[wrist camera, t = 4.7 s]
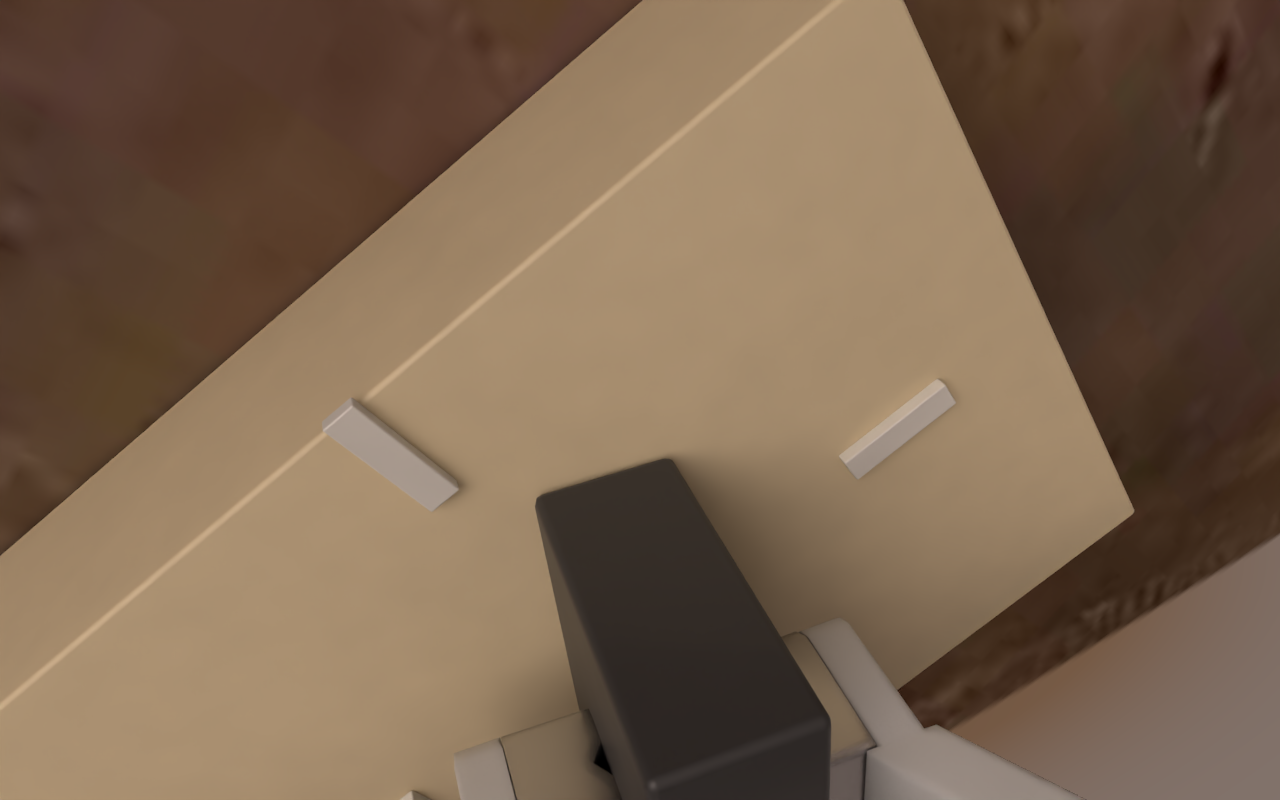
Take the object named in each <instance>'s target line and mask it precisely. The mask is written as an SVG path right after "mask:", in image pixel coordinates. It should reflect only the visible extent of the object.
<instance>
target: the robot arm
mask: <svg viewBox="0 0 1280 800" xmlns="http://www.w3.org/2000/svg"><path fill="white" fill-rule="evenodd" d="M781 638H782V639H783V641H784V643H785V644H786V646H787V648H788V649H789V651H790V652H791V654H792V656H793V657H794V659H795V661H796V662H797V664H798V665H799V667H800V669H801V670H802V672H803V674H804V675H805V677H806V679H807V680H808V682H809V683H810V685H811V687H812V688H813V690H814V692H815V693H816V695H817V696H818V698H819V700H820V701H821V703H822V705H823V706H824V708H825V710H826V711H827V713H828V714H829V716H830V718H831V760H830V795H829V800H1086V799H1084V798H1082V797H1080V796H1078V795H1076V794H1074V793H1072V792H1070V791H1068V790H1066V789H1064V788H1062V787H1060V786H1058V785H1056V784H1054V783H1052V782H1050V781H1048V780H1046V779H1044V778H1042V777H1040V776H1038V775H1036V774H1034V773H1032V772H1030V771H1028V770H1026V769H1024V768H1022V767H1020V766H1018V765H1016V764H1014V763H1012V762H1010V761H1008V760H1006V759H1004V758H1002V757H1000V756H998V755H996V754H994V753H992V752H990V751H988V750H986V749H984V748H982V747H980V746H978V745H976V744H974V743H972V742H970V741H968V740H966V739H964V738H962V737H960V736H958V735H956V734H954V733H952V732H950V731H948V730H946V729H944V728H942V727H940V726H938V725H933V726H930V727H927V728H924V727H923V726H922V725H921V723H920V722H919V720H918V719H917V718H916V716H915V715H914V713H913V712H912V711H911V709H910V708H909V707H908V705H907V704H906V702H905V701H904V700H903V698H902V697H901V695H900V694H899V693H898V691H897V690H896V688H895V687H894V686H893V684H892V683H891V681H890V680H889V679H888V677H887V676H886V674H885V673H884V672H883V670H882V669H881V667H880V666H879V665H878V663H877V662H876V660H875V659H874V658H873V656H872V655H871V653H870V652H869V651H868V649H867V648H866V646H865V645H864V644H863V642H862V641H861V639H860V638H859V637H858V635H857V634H856V632H855V631H854V630H853V628H852V627H851V625H850V624H849V623H848V622H846V621H845V620H843V619H842V618H840V617H839V618H834V619H831V620H829V621H826V622H823V623H821V624H818V625H815V626H813V627H810V628H807V629H805V630H802V631H800V632H796V631H795V632H792V633H790V634H787V635H784V636H782V637H781ZM501 739H502V741H501ZM501 739H500V737H499V738H496V739H493V740H490V741H488V742H485V743H482V744H479V745H476V746H473V747H471V748H468V749H465V750H462V751H459V752H456V753H454V770H455V775H456V780H457V784H458V789H459V794H460V799H461V800H622V797H621V794H620V792H619V789H618V786H617V783H616V781H615V778H614V776H613V775H611V774H610V773H608V771H607V767H606V762H605V757H604V752H603V747H602V742H601V739H600V736H599V733H598V731H597V728H596V725H595V722H594V720H593V717H592V715H591V713H590V710H589V709H584V710H581V711H578V712H575V713H572V714H569V715H566V716H563V717H560V718H557V719H554V720H551V721H548V722H545V723H542V724H539V725H536V726H533V727H530V728H527V729H524V730H521V731H518V732H515V733H512V734H509V735H506V736H503V737H501ZM502 743H503V744H502Z"/></svg>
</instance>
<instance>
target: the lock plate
mask: <svg viewBox="0 0 1280 800" xmlns="http://www.w3.org/2000/svg"><path fill="white" fill-rule="evenodd" d="M664 458H666V459H671V460H672V461H673V462H674V463H675V465H676V466H677V468H678V470H679V471H680V473H681V475H682V476H683V478H684V479H685V481H686V483H687V484H688V486H689V488H690V489H691V491H692V493H693V494H694V496H695V497H696V499H697V501H698V502H699V504H700V506H701V507H702V509H703V510H704V512H705V514H706V515H707V517H708V519H709V520H710V522H711V524H712V525H713V527H714V528H715V530H716V532H717V533H718V535H719V537H720V538H721V540H722V541H723V543H724V545H725V546H726V548H727V550H728V551H729V553H730V555H731V556H732V558H733V559H734V561H735V563H736V564H737V566H738V568H739V569H740V571H741V572H742V574H743V576H744V577H745V579H746V581H747V582H748V584H749V586H750V587H751V589H752V590H753V592H754V594H755V595H756V597H757V599H758V600H759V602H760V603H761V605H762V607H763V608H764V610H765V612H766V613H767V615H768V617H769V618H770V620H771V621H772V623H773V625H774V626H775V628H776V630H777V631H778V633H779V634H780V636H781V637H782V636H784V635H787V634H790V633H792V632H795V631H796V632H800V631H802V630H805V629H807V628H810V627H813V626H815V625H818V624H821V623H823V622H826V621H829V620H831V619H834V618H839V617H840V618H842V619H843V620H845V621H846V622H848V623H849V624H850V625H851V627H852V628H853V630H854V631H855V632H856V634H857V635H858V637H859V638H860V639H861V641H862V642H863V644H864V645H865V646H866V648H867V649H868V651H869V652H870V653H871V655H872V656H873V658H874V659H875V660H876V662H877V663H878V665H879V666H880V667H881V669H882V670H883V672H884V673H885V674H886V676H887V677H888V679H889V680H890V681H891V683H892V684H893V686H894V687H895V688H896V690H898V689H899V688H901V687H902V686H903V685H905V684H906V683H907V682H909V681H910V680H911V679H913V678H914V677H915V676H917V675H918V674H919V673H921V672H922V671H923V670H925V669H926V668H927V667H929V666H930V665H931V664H933V663H934V662H935V661H937V660H938V659H939V658H941V657H942V656H943V655H945V654H946V653H947V652H949V651H950V650H951V649H953V648H954V647H956V646H957V645H958V644H960V643H961V642H962V641H964V640H965V639H966V638H968V637H969V636H970V635H972V634H973V633H974V632H976V631H977V630H978V629H980V628H981V627H982V626H984V625H985V624H986V623H988V622H989V621H990V620H992V619H993V618H994V617H996V616H997V615H998V614H1000V613H1001V612H1002V611H1004V610H1005V609H1006V608H1008V607H1009V606H1010V605H1012V604H1013V603H1014V602H1016V601H1017V600H1018V599H1020V598H1021V597H1022V596H1024V595H1025V594H1026V593H1028V592H1029V591H1030V590H1032V589H1033V588H1034V587H1036V586H1037V585H1039V584H1040V583H1041V582H1043V581H1044V580H1045V579H1047V578H1048V577H1049V576H1051V575H1052V574H1053V573H1055V572H1056V571H1057V570H1059V569H1060V568H1061V567H1063V566H1064V565H1065V564H1067V563H1068V562H1069V561H1071V560H1072V559H1073V558H1075V557H1076V556H1077V555H1079V554H1080V553H1081V552H1083V551H1084V550H1085V549H1087V548H1088V547H1089V546H1091V545H1092V544H1093V543H1095V542H1096V541H1097V540H1099V539H1100V538H1101V537H1103V536H1104V535H1105V534H1107V533H1108V532H1109V531H1111V530H1112V529H1113V528H1115V527H1116V526H1117V525H1119V524H1120V523H1121V522H1123V521H1124V520H1126V519H1127V518H1128V517H1130V516H1131V515H1132V514H1133V513H1134V509H1133V506H1132V504H1131V502H1130V500H1129V497H1128V495H1127V493H1126V491H1125V489H1124V486H1123V484H1122V482H1121V480H1120V478H1119V475H1118V473H1117V471H1116V469H1115V467H1114V464H1113V462H1112V460H1111V458H1110V456H1109V453H1108V451H1107V449H1106V447H1105V445H1104V442H1103V440H1102V438H1101V436H1100V433H1099V431H1098V429H1097V427H1096V425H1095V422H1094V420H1093V418H1092V416H1091V414H1090V411H1089V409H1088V407H1087V405H1086V403H1085V400H1084V398H1083V396H1082V394H1081V392H1080V389H1079V387H1078V385H1077V383H1076V380H1075V378H1074V376H1073V374H1072V372H1071V369H1070V367H1069V365H1068V363H1067V361H1066V358H1065V356H1064V354H1063V352H1062V350H1061V347H1060V345H1059V343H1058V341H1057V339H1056V336H1055V334H1054V332H1053V330H1052V327H1051V325H1050V323H1049V321H1048V319H1047V316H1046V314H1045V312H1044V310H1043V308H1042V305H1041V303H1040V301H1039V299H1038V297H1037V294H1036V292H1035V290H1034V288H1033V286H1032V283H1031V281H1030V279H1029V277H1028V274H1027V272H1026V270H1025V268H1024V266H1023V263H1022V261H1021V259H1020V257H1019V255H1018V252H1017V250H1016V248H1015V246H1014V244H1013V241H1012V239H1011V237H1010V235H1009V233H1008V230H1007V228H1006V226H1005V224H1004V222H1003V219H1002V217H1001V215H1000V213H999V210H998V208H997V206H996V204H995V202H994V199H993V197H992V195H991V193H990V191H989V188H988V186H987V184H986V182H985V180H984V177H983V175H982V173H981V171H980V169H979V166H978V164H977V162H976V160H975V157H974V155H973V153H972V151H971V149H970V146H969V144H968V142H967V140H966V138H965V135H964V133H963V131H962V129H961V127H960V124H959V122H958V120H957V118H956V116H955V113H954V111H953V109H952V107H951V104H950V102H949V100H948V98H947V96H946V93H945V91H944V89H943V87H942V85H941V82H940V80H939V78H938V76H937V74H936V71H935V69H934V67H933V65H932V63H931V60H930V58H929V56H928V54H927V51H926V49H925V47H924V45H923V43H922V40H921V38H920V36H919V34H918V32H917V29H916V27H915V25H914V23H913V21H912V18H911V16H910V14H909V12H908V10H907V7H906V5H905V3H904V1H903V0H643V1H641V2H640V3H639V4H638V5H637V6H636V7H634V8H633V9H632V10H631V11H630V12H629V13H628V14H626V15H625V16H624V17H623V18H622V19H621V20H619V21H618V22H617V23H616V24H615V25H614V26H613V27H611V28H610V29H609V30H608V31H607V32H606V33H604V34H603V35H602V36H601V37H600V38H599V39H597V40H596V41H595V42H594V43H593V44H592V45H591V46H589V47H588V48H587V49H586V50H585V51H584V52H582V53H581V54H580V55H579V56H578V57H577V58H576V59H574V60H573V61H572V62H571V63H570V64H569V65H567V66H566V67H565V68H564V69H563V70H562V71H560V72H559V73H558V74H557V75H556V76H555V77H554V78H552V79H551V80H550V81H549V82H548V83H547V84H545V85H544V86H543V87H542V88H541V89H540V90H539V91H537V92H536V93H535V94H534V95H533V96H532V97H530V98H529V99H528V100H527V101H526V102H525V103H523V104H522V105H521V106H520V107H519V108H518V109H517V110H515V111H514V112H513V113H512V114H511V115H510V116H508V117H507V118H506V119H505V120H504V121H503V122H502V123H500V124H499V125H498V126H497V127H496V128H495V129H493V130H492V131H491V132H490V133H489V134H488V135H486V136H485V137H484V138H483V139H482V140H481V141H480V142H478V143H477V144H476V145H475V146H474V147H473V148H471V149H470V150H469V151H468V152H467V153H466V154H465V155H463V156H462V157H461V158H460V159H459V160H458V161H456V162H455V163H454V164H453V165H452V166H451V167H449V168H448V169H447V170H446V171H445V172H444V173H443V174H441V175H440V176H439V177H438V178H437V179H436V180H434V181H433V182H432V183H431V184H430V185H429V186H428V187H426V188H425V189H424V190H423V191H422V192H421V193H419V194H418V195H417V196H416V197H415V198H414V199H412V200H411V201H410V202H409V203H408V204H407V205H406V206H404V207H403V208H402V209H401V210H400V211H399V212H397V213H396V214H395V215H394V216H393V217H392V218H391V219H389V220H388V221H387V222H386V223H385V224H384V225H382V226H381V227H380V228H379V229H378V230H377V231H375V232H374V233H373V234H372V235H371V236H370V237H369V238H367V239H366V240H365V241H364V242H363V243H362V244H360V245H359V246H358V247H357V248H356V249H355V250H354V251H352V252H351V253H350V254H349V255H348V256H347V257H345V258H344V259H343V260H342V261H341V262H340V263H338V264H337V265H336V266H335V267H334V268H333V269H332V270H330V271H329V272H328V273H327V274H326V275H325V276H323V277H322V278H321V279H320V280H319V281H318V282H317V283H315V284H314V285H313V286H312V287H311V288H310V289H308V290H307V291H306V292H305V293H304V294H303V295H301V296H300V297H299V298H298V299H297V300H296V301H295V302H293V303H292V304H291V305H290V306H289V307H288V308H286V309H285V310H284V311H283V312H282V313H281V314H280V315H278V316H277V317H276V318H275V319H274V320H273V321H271V322H270V323H269V324H268V325H267V326H266V327H264V328H263V329H262V330H261V331H260V332H259V333H258V334H256V335H255V336H254V337H253V338H252V339H251V340H249V341H248V342H247V343H246V344H245V345H244V346H243V347H241V348H240V349H239V350H238V351H237V352H236V353H234V354H233V355H232V356H231V357H230V358H229V359H227V360H226V361H225V362H224V363H223V364H222V365H221V366H219V367H218V368H217V369H216V370H215V371H214V372H212V373H211V374H210V375H209V376H208V377H207V378H206V379H204V380H203V381H202V382H201V383H200V384H199V385H197V386H196V387H195V388H194V389H193V390H192V391H190V392H189V393H188V394H187V395H186V396H185V397H184V398H182V399H181V400H180V401H179V402H178V403H177V404H175V405H174V406H173V407H172V408H171V409H170V410H169V411H167V412H166V413H165V414H164V415H163V416H162V417H160V418H159V419H158V420H157V421H156V422H155V423H153V424H152V425H151V426H150V427H149V428H148V429H147V430H145V431H144V432H143V433H142V434H141V435H140V436H138V437H137V438H136V439H135V440H134V441H133V442H132V443H130V444H129V445H128V446H127V447H126V448H125V449H123V450H122V451H121V452H120V453H119V454H118V455H116V456H115V457H114V458H113V459H112V460H111V461H110V462H108V463H107V464H106V465H105V466H104V467H103V468H101V469H100V470H99V471H98V472H97V473H96V474H95V475H93V476H92V477H91V478H90V479H89V480H88V481H86V482H85V483H84V484H83V485H82V486H81V487H79V488H78V489H77V490H76V491H75V492H74V493H73V494H71V495H70V496H69V497H68V498H67V499H66V500H64V501H63V502H62V503H61V504H60V505H59V506H58V507H56V508H55V509H54V510H53V511H52V512H51V513H49V514H48V515H47V516H46V517H45V518H44V519H42V520H41V521H40V522H39V523H38V524H37V525H36V526H34V527H33V528H32V529H31V530H30V531H29V532H27V533H26V534H25V535H24V536H23V537H22V538H21V539H19V540H18V541H17V542H16V543H15V544H14V545H12V546H11V547H10V548H9V549H8V550H7V551H5V552H4V553H3V554H2V555H1V556H0V800H461V799H460V794H459V789H458V784H457V780H456V775H455V770H454V753H456V752H459V751H462V750H465V749H468V748H471V747H473V746H476V745H479V744H482V743H485V742H488V741H490V740H493V739H496V738H499V737H500V739H501V737H503V736H506V735H509V734H512V733H515V732H518V731H521V730H524V729H527V728H530V727H533V726H536V725H539V724H542V723H545V722H548V721H551V720H554V719H557V718H560V717H563V716H566V715H569V714H572V713H575V712H578V711H579V707H578V702H577V698H576V693H575V688H574V684H573V679H572V675H571V670H570V666H569V661H568V656H567V652H566V647H565V643H564V638H563V634H562V629H561V624H560V620H559V615H558V611H557V606H556V601H555V597H554V592H553V588H552V583H551V579H550V574H549V569H548V565H547V560H546V556H545V551H544V547H543V542H542V537H541V533H540V528H539V524H538V519H537V515H536V510H535V504H536V498H537V497H539V496H540V495H542V494H546V493H549V492H552V491H556V490H559V489H562V488H566V487H569V486H573V485H576V484H579V483H583V482H586V481H589V480H593V479H596V478H599V477H603V476H606V475H610V474H613V473H616V472H620V471H623V470H626V469H630V468H633V467H637V466H640V465H643V464H647V463H650V462H653V461H657V460H660V459H664ZM501 741H502V739H501ZM502 744H503V743H502Z"/></svg>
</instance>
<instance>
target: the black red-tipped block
mask: <svg viewBox="0 0 1280 800" xmlns="http://www.w3.org/2000/svg"><path fill="white" fill-rule="evenodd" d="M535 510H536V515H537V519H538V524H539V528H540V533H541V537H542V542H543V547H544V551H545V556H546V560H547V565H548V569H549V574H550V579H551V583H552V588H553V592H554V597H555V601H556V606H557V611H558V615H559V620H560V624H561V629H562V634H563V638H564V643H565V647H566V652H567V656H568V661H569V666H570V670H571V675H572V679H573V684H574V688H575V693H576V698H577V702H578V707H579V711H581V710H584V709H589V710H590V713H591V715H592V717H593V720H594V722H595V725H596V728H597V731H598V733H599V736H600V739H601V742H602V747H603V752H604V757H605V762H606V767H607V771H608V773H610V774H611V775H613V776H614V778H615V781H616V783H617V786H618V789H619V792H620V794H621V797H622V800H829V795H830V760H831V718H830V716H829V714H828V713H827V711H826V710H825V708H824V706H823V705H822V703H821V701H820V700H819V698H818V696H817V695H816V693H815V692H814V690H813V688H812V687H811V685H810V683H809V682H808V680H807V679H806V677H805V675H804V674H803V672H802V670H801V669H800V667H799V665H798V664H797V662H796V661H795V659H794V657H793V656H792V654H791V652H790V651H789V649H788V648H787V646H786V644H785V643H784V641H783V639H782V638H781V636H780V634H779V633H778V631H777V630H776V628H775V626H774V625H773V623H772V621H771V620H770V618H769V617H768V615H767V613H766V612H765V610H764V608H763V607H762V605H761V603H760V602H759V600H758V599H757V597H756V595H755V594H754V592H753V590H752V589H751V587H750V586H749V584H748V582H747V581H746V579H745V577H744V576H743V574H742V572H741V571H740V569H739V568H738V566H737V564H736V563H735V561H734V559H733V558H732V556H731V555H730V553H729V551H728V550H727V548H726V546H725V545H724V543H723V541H722V540H721V538H720V537H719V535H718V533H717V532H716V530H715V528H714V527H713V525H712V524H711V522H710V520H709V519H708V517H707V515H706V514H705V512H704V510H703V509H702V507H701V506H700V504H699V502H698V501H697V499H696V497H695V496H694V494H693V493H692V491H691V489H690V488H689V486H688V484H687V483H686V481H685V479H684V478H683V476H682V475H681V473H680V471H679V470H678V468H677V466H676V465H675V463H674V462H673V461H672V460H671V459H666V458H664V459H660V460H657V461H653V462H650V463H647V464H643V465H640V466H637V467H633V468H630V469H626V470H623V471H620V472H616V473H613V474H610V475H606V476H603V477H599V478H596V479H593V480H589V481H586V482H583V483H579V484H576V485H573V486H569V487H566V488H562V489H559V490H556V491H552V492H549V493H546V494H542V495H540V496H539V497H537V498H536V504H535Z"/></svg>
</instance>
